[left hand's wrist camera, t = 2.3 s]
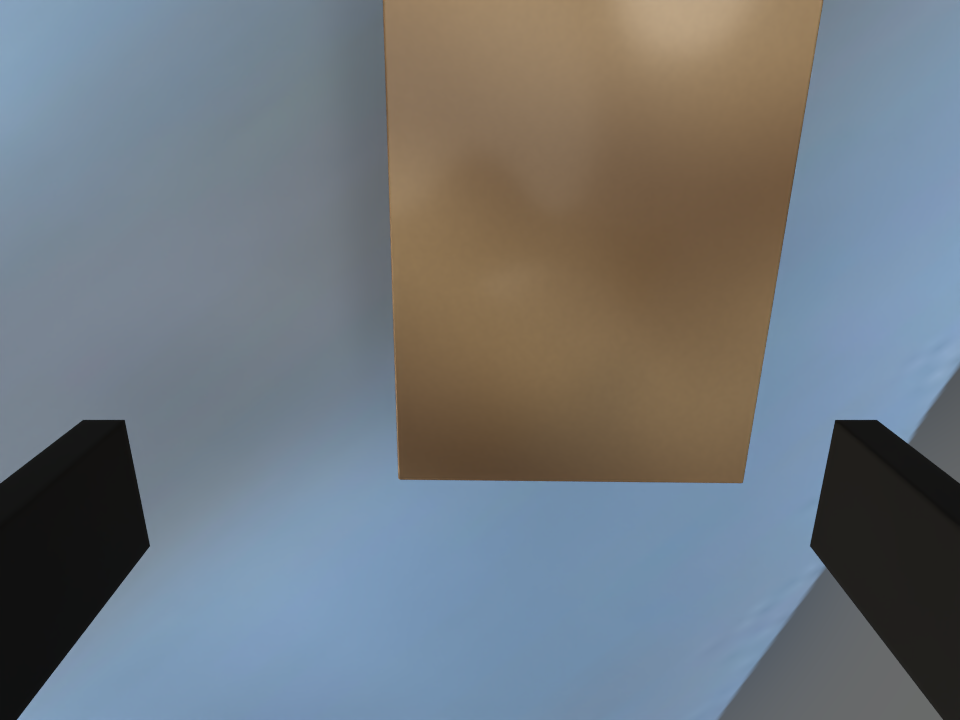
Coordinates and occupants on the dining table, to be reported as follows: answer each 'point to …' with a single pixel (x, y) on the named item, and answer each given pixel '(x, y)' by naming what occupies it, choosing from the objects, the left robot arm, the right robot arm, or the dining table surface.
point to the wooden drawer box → (587, 230)
